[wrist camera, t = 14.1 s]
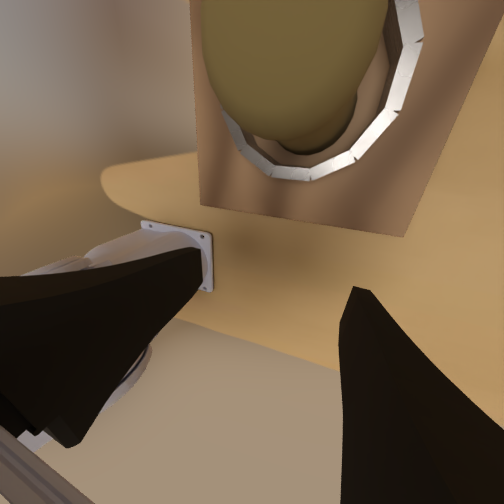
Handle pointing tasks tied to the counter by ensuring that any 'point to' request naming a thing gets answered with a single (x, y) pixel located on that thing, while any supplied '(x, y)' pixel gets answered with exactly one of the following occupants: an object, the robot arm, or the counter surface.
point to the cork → (290, 64)
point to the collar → (396, 85)
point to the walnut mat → (355, 132)
